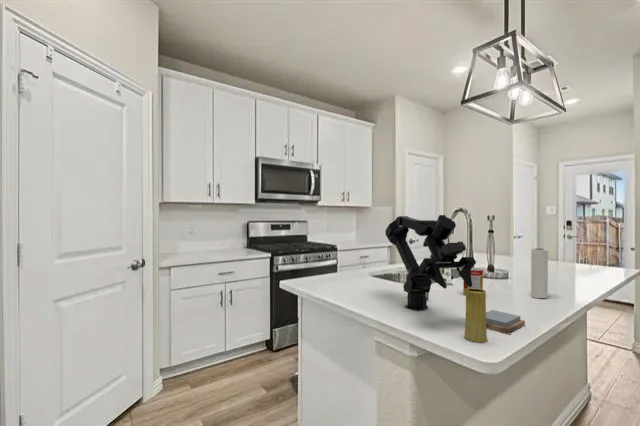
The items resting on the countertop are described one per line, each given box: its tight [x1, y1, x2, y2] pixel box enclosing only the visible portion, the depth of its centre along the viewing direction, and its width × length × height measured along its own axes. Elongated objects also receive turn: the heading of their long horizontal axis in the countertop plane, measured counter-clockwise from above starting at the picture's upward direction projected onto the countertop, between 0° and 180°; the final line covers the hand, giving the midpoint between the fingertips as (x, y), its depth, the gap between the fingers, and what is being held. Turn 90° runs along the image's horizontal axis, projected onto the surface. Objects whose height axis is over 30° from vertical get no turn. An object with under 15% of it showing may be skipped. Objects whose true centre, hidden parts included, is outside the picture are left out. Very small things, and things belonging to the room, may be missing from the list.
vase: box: [463, 288, 488, 343], centre depth 99 cm, size 6×6×14 cm
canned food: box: [462, 266, 484, 297], centre depth 152 cm, size 8×8×12 cm
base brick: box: [486, 319, 526, 335], centre depth 112 cm, size 11×13×2 cm
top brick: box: [486, 309, 521, 328], centre depth 112 cm, size 9×11×2 cm
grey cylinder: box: [530, 247, 549, 299], centre depth 149 cm, size 7×6×21 cm
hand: (458, 287), depth 107 cm, fingers open, 9 cm apart
